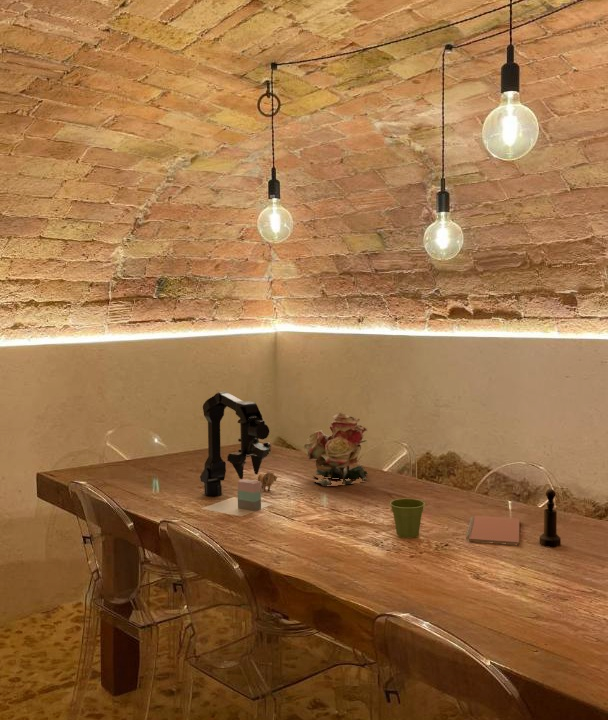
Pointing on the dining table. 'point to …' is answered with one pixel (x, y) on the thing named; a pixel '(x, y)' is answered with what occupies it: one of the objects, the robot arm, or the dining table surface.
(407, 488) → the dining table surface
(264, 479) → the lion figurine
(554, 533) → the black pepper mill
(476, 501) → the dining table surface
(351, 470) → the rose bouquet
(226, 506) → the baseplate
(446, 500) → the dining table surface
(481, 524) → the notebook
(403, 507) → the plant pot
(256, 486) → the mauve brick
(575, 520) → the dining table surface
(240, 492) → the teal brick
